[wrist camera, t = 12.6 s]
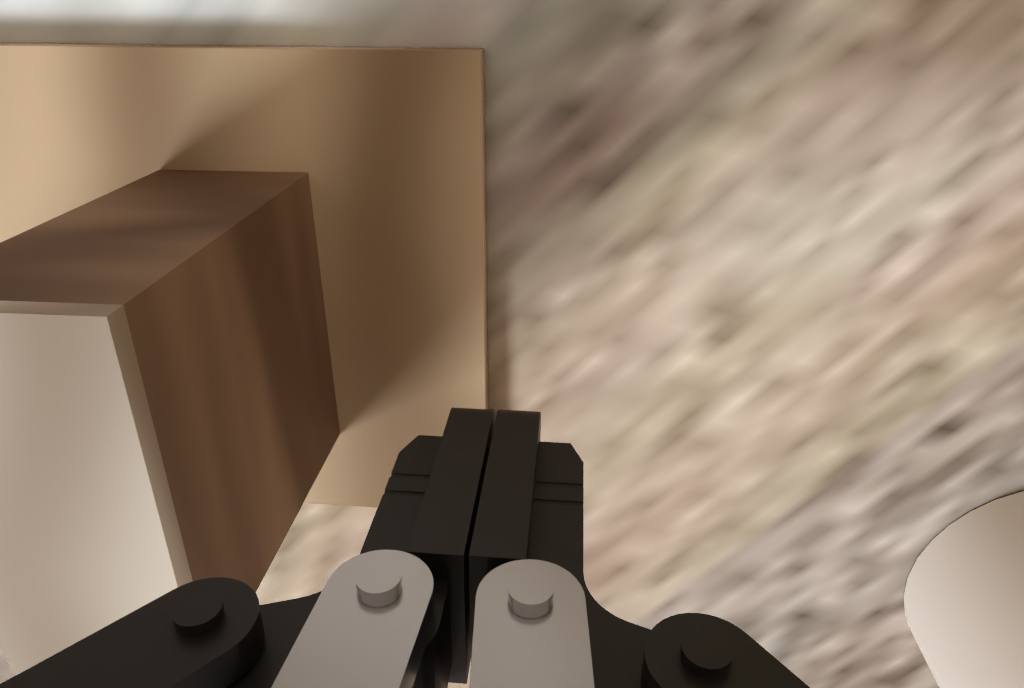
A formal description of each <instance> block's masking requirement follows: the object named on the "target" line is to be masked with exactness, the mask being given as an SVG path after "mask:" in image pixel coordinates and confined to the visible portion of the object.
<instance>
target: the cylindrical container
mask: <svg viewBox="0 0 1024 688" xmlns="http://www.w3.org/2000/svg"><path fill="white" fill-rule="evenodd" d="M904 608H905V617H906V619H907V622H908V624H909V627H910V629H911V632H912V634H913V636H914V638H915V640H916V642H917V644H918V646H919V648H920V650H921V652H922V654H923V656H924V658H925V660H926V662H927V664H928V666H929V668H930V670H931V672H932V674H933V676H934V678H935V680H936V682H937V684H938V686H939V688H1024V491H1022V492H1019V493H1015V494H1012V495H1009V496H1006V497H1002V498H999V499H996V500H994V501H991V502H989V503H987V504H985V505H983V506H981V507H979V508H976V509H974V510H972V511H970V512H969V513H967V514H965V515H964V516H962V517H961V518H959V519H958V520H956V521H955V522H953V523H952V524H950V525H949V526H948V527H946V528H945V529H944V530H943V531H942V532H941V533H940V534H938V535H937V536H936V537H935V538H934V539H933V540H932V541H931V542H930V543H929V544H928V546H927V547H926V548H925V549H924V551H923V552H922V553H921V554H920V556H919V557H918V558H917V560H916V562H915V564H914V566H913V568H912V570H911V572H910V574H909V576H908V579H907V583H906V588H905V593H904Z"/></svg>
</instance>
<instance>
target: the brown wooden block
mask: <svg viewBox="0 0 1024 688" xmlns="http://www.w3.org/2000/svg"><path fill="white" fill-rule="evenodd" d="M339 435H340V429H339V421H338V413H337V404H336V396H335V388H334V380H333V372H332V363H331V355H330V347H329V339H328V331H327V322H326V314H325V306H324V298H323V290H322V281H321V273H320V265H319V257H318V248H317V240H316V232H315V224H314V216H313V207H312V199H311V191H310V183H309V175H308V172H258V171H207V170H158V171H156V172H153V173H151V174H149V175H147V176H145V177H142V178H140V179H138V180H136V181H134V182H132V183H129V184H127V185H125V186H123V187H121V188H118V189H116V190H114V191H112V192H110V193H108V194H105V195H103V196H101V197H99V198H97V199H95V200H92V201H90V202H88V203H86V204H84V205H81V206H79V207H77V208H75V209H73V210H71V211H68V212H66V213H64V214H62V215H60V216H57V217H55V218H53V219H51V220H49V221H47V222H44V223H42V224H40V225H38V226H36V227H34V228H31V229H29V230H27V231H25V232H23V233H20V234H18V235H16V236H14V237H12V238H10V239H7V240H5V241H3V242H1V243H0V646H1V648H2V650H3V653H4V655H5V657H6V660H7V662H8V665H9V667H10V669H11V672H12V674H20V673H22V672H23V671H25V670H27V669H29V668H31V667H33V666H34V665H36V664H38V663H40V662H42V661H44V660H45V659H47V658H49V657H51V656H53V655H54V654H56V653H58V652H60V651H62V650H64V649H65V648H67V647H69V646H71V645H73V644H75V643H76V642H78V641H80V640H82V639H84V638H86V637H87V636H89V635H91V634H93V633H95V632H97V631H98V630H100V629H102V628H104V627H106V626H108V625H109V624H111V623H113V622H115V621H117V620H119V619H120V618H122V617H124V616H126V615H128V614H130V613H131V612H133V611H135V610H137V609H139V608H141V607H142V606H144V605H146V604H148V603H150V602H152V601H153V600H155V599H157V598H159V597H161V596H163V595H164V594H166V593H168V592H170V591H172V590H174V589H176V588H178V587H180V586H182V585H184V584H187V583H190V582H192V581H196V580H200V579H205V578H212V577H224V578H232V579H236V580H239V581H241V582H243V583H246V584H247V585H248V586H250V587H251V588H252V589H253V590H254V592H255V593H256V591H257V589H258V587H259V585H260V583H261V581H262V579H263V578H264V576H265V574H266V572H267V570H268V568H269V566H270V564H271V563H272V561H273V559H274V557H275V555H276V553H277V551H278V549H279V548H280V546H281V544H282V542H283V540H284V538H285V536H286V534H287V532H288V531H289V529H290V527H291V525H292V523H293V521H294V519H295V517H296V516H297V514H298V512H299V510H300V508H301V506H302V504H303V502H304V501H305V499H306V497H307V495H308V493H309V491H310V489H311V487H312V486H313V484H314V482H315V480H316V478H317V476H318V474H319V472H320V471H321V469H322V467H323V465H324V463H325V461H326V459H327V457H328V456H329V454H330V452H331V450H332V448H333V446H334V444H335V442H336V440H337V439H338V437H339Z"/></svg>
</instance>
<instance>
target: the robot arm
mask: <svg viewBox="0 0 1024 688" xmlns="http://www.w3.org/2000/svg"><path fill="white" fill-rule="evenodd" d="M540 430H541V412H531V411H512V410H498V411H497V415H496V413H495V410H491V409H472V408H453V407H452V408H451V410H450V413H449V416H448V420H447V423H446V426H445V429H444V433H443V436H427V435H418V436H417V437H416V438H415V439H413V440H412V441H411V442H410V443H409V444H408V445H407V446H406V447H404V448H403V449H402V450H401V451H400V452H399V454H398V457H397V459H396V462H395V464H394V467H393V470H392V472H391V477H389V480H388V483H387V485H386V488H385V493H384V494H383V496H382V498H381V501H380V503H379V506H378V509H377V511H376V514H375V516H374V519H373V522H372V524H371V527H370V529H369V532H368V534H367V537H366V540H365V542H364V545H363V547H362V550H361V553H360V555H357V556H355V557H353V558H351V559H349V560H348V561H346V562H344V563H343V564H342V565H340V566H339V567H338V568H337V569H336V570H335V571H334V572H333V573H332V575H331V576H330V578H329V579H328V581H327V583H326V585H325V587H324V588H323V590H322V591H321V592H318V593H316V594H313V595H310V596H306V597H302V598H298V599H292V600H287V601H281V602H276V603H270V604H265V605H259V600H258V597H257V595H256V593H255V592H254V590H253V589H252V588H251V587H250V586H248V585H247V584H246V583H243V582H241V581H239V580H236V579H232V578H224V577H212V578H205V579H200V580H196V581H192V582H190V583H187V584H184V585H182V586H180V587H178V588H176V589H174V590H172V591H170V592H168V593H166V594H164V595H163V596H161V597H159V598H157V599H155V600H153V601H152V602H150V603H148V604H146V605H144V606H142V607H141V608H139V609H137V610H135V611H133V612H131V613H130V614H128V615H126V616H124V617H122V618H120V619H119V620H117V621H115V622H113V623H111V624H109V625H108V626H106V627H104V628H102V629H100V630H98V631H97V632H95V633H93V634H91V635H89V636H87V637H86V638H84V639H82V640H80V641H78V642H76V643H75V644H73V645H71V646H69V647H67V648H65V649H64V650H62V651H60V652H58V653H56V654H54V655H53V656H51V657H49V658H47V659H45V660H44V661H42V662H40V663H38V664H36V665H34V666H33V667H31V668H29V669H27V670H25V671H23V672H22V673H20V674H18V675H16V676H14V677H12V678H11V679H9V680H7V681H5V682H3V683H1V684H0V688H447V686H448V682H452V683H464V684H467V678H468V672H469V666H470V660H471V670H470V684H469V688H810V687H808V686H807V685H806V684H805V683H804V682H803V681H801V680H800V679H799V678H798V677H797V676H796V675H794V674H793V673H792V672H791V671H790V670H789V669H787V668H786V667H785V666H784V665H783V664H781V663H780V662H779V661H778V660H777V659H776V658H774V657H773V656H772V655H771V654H770V653H769V652H767V651H766V650H765V649H764V648H763V647H762V646H760V645H759V644H758V643H757V642H756V641H755V640H753V639H752V638H751V637H750V636H749V635H747V634H746V633H745V632H744V631H742V630H741V629H740V628H738V627H737V626H735V625H733V624H731V623H730V622H728V621H725V620H723V619H721V618H718V617H715V616H711V615H706V614H700V613H684V614H678V615H674V616H670V617H668V618H666V619H664V620H662V621H661V622H659V623H658V624H657V625H656V626H655V627H654V628H653V629H652V630H650V629H647V628H644V627H641V626H638V625H635V624H633V623H630V622H627V621H625V620H622V619H620V618H618V617H616V616H614V615H613V614H611V613H609V612H608V611H607V610H605V609H604V608H602V607H601V606H600V605H599V604H598V603H597V602H596V601H595V600H594V598H593V597H592V596H591V594H590V593H589V591H588V589H587V587H586V584H585V581H584V575H583V462H582V460H581V458H580V457H579V455H578V454H577V452H576V451H575V449H574V448H573V446H572V445H571V443H554V442H540Z"/></svg>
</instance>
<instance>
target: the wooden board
mask: <svg viewBox="0 0 1024 688" xmlns="http://www.w3.org/2000/svg"><path fill="white" fill-rule="evenodd" d="M158 170H207V171H258V172H308V175H309V183H310V191H311V199H312V207H313V216H314V224H315V232H316V240H317V248H318V257H319V265H320V273H321V281H322V290H323V298H324V306H325V314H326V322H327V331H328V339H329V347H330V355H331V363H332V372H333V380H334V388H335V396H336V404H337V413H338V421H339V429H340V435H339V437H338V439H337V440H336V442H335V444H334V446H333V448H332V450H331V452H330V454H329V456H328V457H327V459H326V461H325V463H324V465H323V467H322V469H321V471H320V472H319V474H318V476H317V478H316V480H315V482H314V484H313V486H312V487H311V489H310V491H309V493H308V495H307V497H306V499H305V501H304V502H303V503H313V504H330V505H347V506H364V507H378V506H379V503H380V501H381V498H382V496H383V494H384V493H385V488H386V485H387V483H388V480H389V477H391V472H392V470H393V467H394V464H395V462H396V459H397V457H398V454H399V452H400V451H401V450H402V449H403V448H404V447H406V446H407V445H408V444H409V443H410V442H411V441H412V440H413V439H415V438H416V437H417V436H418V435H427V436H443V433H444V429H445V426H446V423H447V420H448V416H449V413H450V410H451V408H452V407H453V408H472V409H488V358H487V278H486V198H485V118H484V49H462V48H374V47H287V46H199V45H111V44H23V43H0V243H1V242H3V241H5V240H7V239H10V238H12V237H14V236H16V235H18V234H20V233H23V232H25V231H27V230H29V229H31V228H34V227H36V226H38V225H40V224H42V223H44V222H47V221H49V220H51V219H53V218H55V217H57V216H60V215H62V214H64V213H66V212H68V211H71V210H73V209H75V208H77V207H79V206H81V205H84V204H86V203H88V202H90V201H92V200H95V199H97V198H99V197H101V196H103V195H105V194H108V193H110V192H112V191H114V190H116V189H118V188H121V187H123V186H125V185H127V184H129V183H132V182H134V181H136V180H138V179H140V178H142V177H145V176H147V175H149V174H151V173H153V172H156V171H158Z"/></svg>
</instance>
